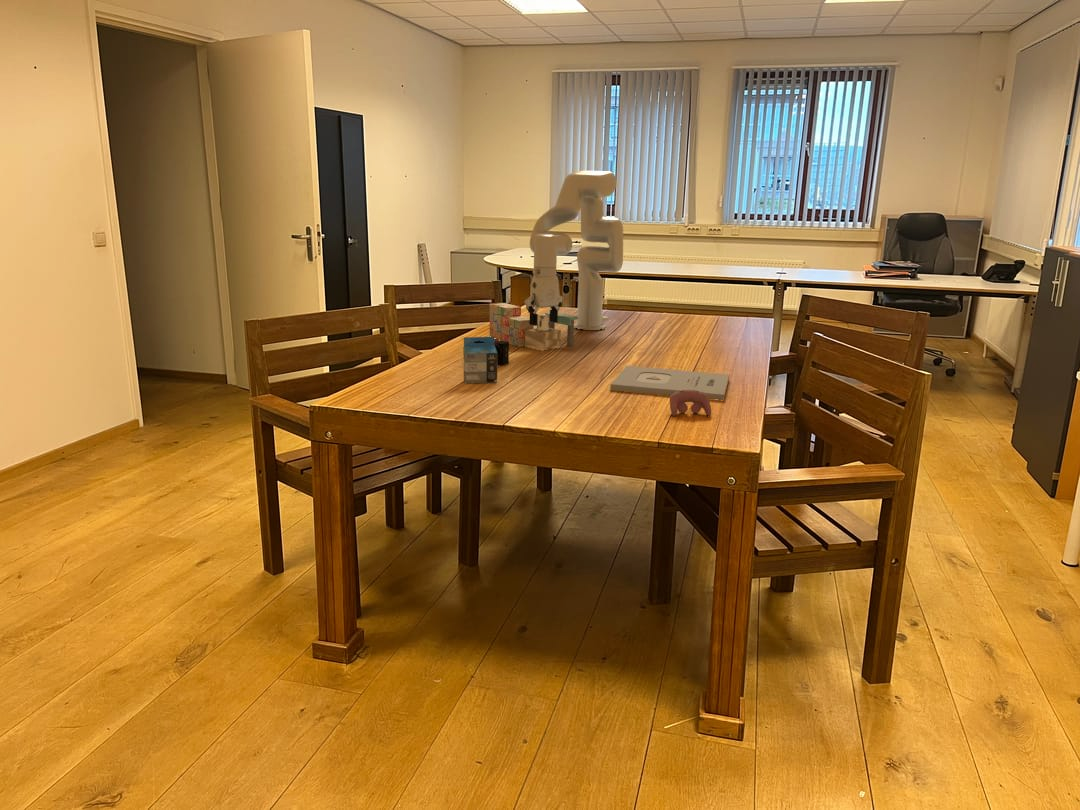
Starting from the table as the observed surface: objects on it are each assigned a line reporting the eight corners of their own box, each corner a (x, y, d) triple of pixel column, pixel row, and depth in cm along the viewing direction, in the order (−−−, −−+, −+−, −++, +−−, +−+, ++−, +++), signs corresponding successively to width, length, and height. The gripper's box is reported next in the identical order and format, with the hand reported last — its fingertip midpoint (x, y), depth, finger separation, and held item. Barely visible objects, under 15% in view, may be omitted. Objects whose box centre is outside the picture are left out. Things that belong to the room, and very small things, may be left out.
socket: (543, 344, 270) (543, 327, 269) (560, 347, 265) (560, 330, 263) (525, 347, 264) (525, 329, 262) (541, 351, 259) (542, 333, 257)
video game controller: (708, 419, 191) (706, 391, 192) (713, 416, 186) (711, 387, 188) (668, 419, 190) (667, 391, 192) (672, 415, 186) (671, 387, 187)
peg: (550, 344, 264) (551, 315, 261) (542, 346, 261) (543, 316, 259) (542, 343, 267) (543, 314, 264) (534, 344, 264) (534, 315, 261)
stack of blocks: (533, 346, 267) (534, 310, 263) (517, 347, 264) (518, 311, 260) (504, 335, 284) (504, 302, 281) (488, 337, 281) (489, 303, 278)
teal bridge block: (552, 340, 278) (552, 312, 275) (577, 345, 270) (578, 316, 267) (544, 341, 275) (545, 313, 273) (569, 346, 267) (570, 317, 265)
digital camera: (470, 363, 238) (470, 340, 236) (478, 360, 243) (478, 338, 241) (501, 367, 234) (501, 344, 232) (508, 363, 239) (508, 341, 237)
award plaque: (723, 403, 202) (724, 394, 202) (610, 392, 210) (610, 383, 210) (728, 381, 225) (729, 374, 224) (626, 372, 233) (626, 365, 232)
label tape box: (465, 384, 212) (465, 339, 209) (463, 380, 216) (463, 337, 213) (497, 383, 215) (497, 339, 211) (494, 379, 218) (494, 336, 215)
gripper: (534, 275, 249) (533, 328, 254) (570, 271, 261) (569, 322, 266) (518, 272, 254) (517, 324, 259) (554, 269, 266) (553, 319, 271)
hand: (543, 323), depth 262 cm, fingers open, 9 cm apart
